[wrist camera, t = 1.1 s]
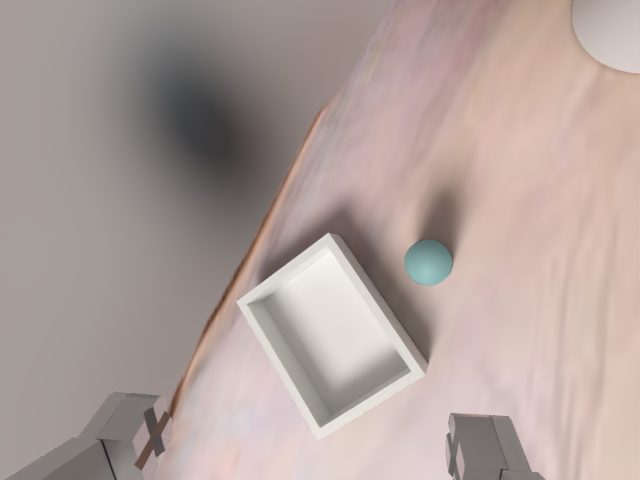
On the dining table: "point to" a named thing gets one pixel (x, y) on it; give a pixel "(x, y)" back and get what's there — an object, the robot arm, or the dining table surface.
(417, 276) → the teal cylinder
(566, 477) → the dining table surface
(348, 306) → the tote
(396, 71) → the dining table surface
